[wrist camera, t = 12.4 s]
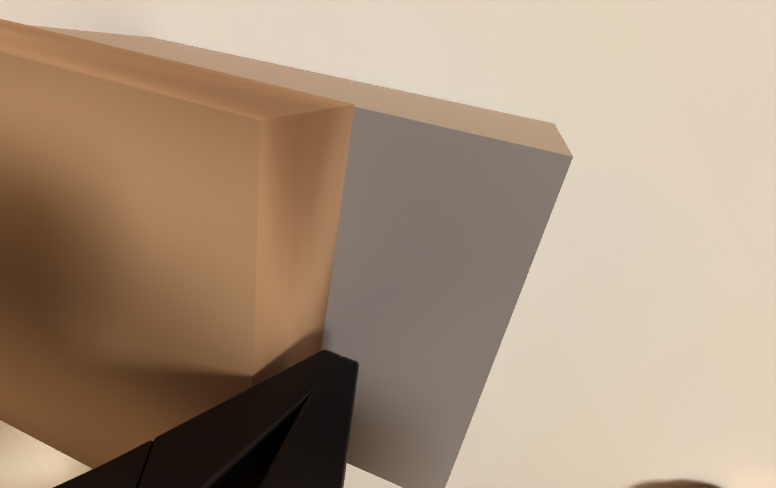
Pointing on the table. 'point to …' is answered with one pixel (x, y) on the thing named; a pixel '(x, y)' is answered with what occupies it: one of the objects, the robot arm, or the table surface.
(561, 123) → the table surface
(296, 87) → the plinth
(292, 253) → the slab
